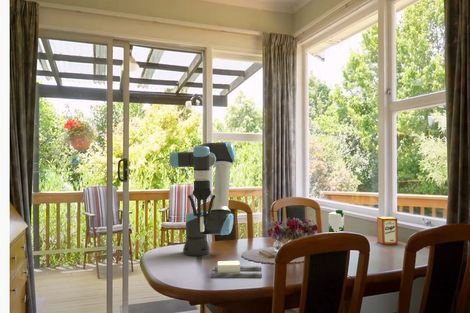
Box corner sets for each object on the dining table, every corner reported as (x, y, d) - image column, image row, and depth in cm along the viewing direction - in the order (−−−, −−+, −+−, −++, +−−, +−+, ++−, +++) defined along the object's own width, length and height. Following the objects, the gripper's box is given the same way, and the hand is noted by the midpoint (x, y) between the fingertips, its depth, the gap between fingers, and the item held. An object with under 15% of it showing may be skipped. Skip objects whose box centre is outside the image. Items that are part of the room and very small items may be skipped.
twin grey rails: (212, 277, 158) (212, 274, 159) (214, 269, 170) (214, 266, 170) (262, 277, 157) (261, 274, 157) (261, 269, 169) (261, 266, 169)
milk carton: (340, 243, 222) (339, 211, 223) (326, 241, 228) (326, 210, 229) (346, 241, 229) (345, 209, 230) (332, 239, 235) (332, 208, 235)
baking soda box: (392, 241, 226) (391, 216, 226) (397, 244, 219) (397, 217, 220) (377, 242, 225) (377, 216, 225) (382, 244, 218) (382, 218, 219)
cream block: (217, 276, 160) (217, 265, 160) (217, 272, 167) (217, 261, 167) (240, 276, 161) (240, 264, 161) (239, 271, 168) (239, 260, 168)
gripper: (186, 180, 162) (186, 232, 162) (215, 180, 162) (215, 232, 161) (189, 179, 170) (189, 229, 169) (216, 179, 169) (217, 229, 168)
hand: (202, 231), depth 165 cm, fingers closed
